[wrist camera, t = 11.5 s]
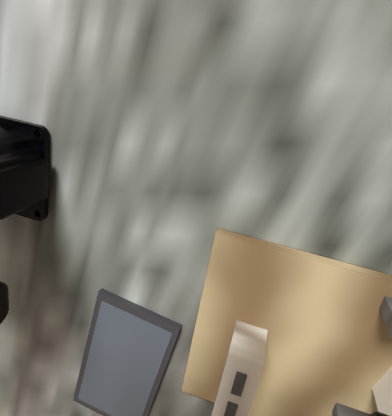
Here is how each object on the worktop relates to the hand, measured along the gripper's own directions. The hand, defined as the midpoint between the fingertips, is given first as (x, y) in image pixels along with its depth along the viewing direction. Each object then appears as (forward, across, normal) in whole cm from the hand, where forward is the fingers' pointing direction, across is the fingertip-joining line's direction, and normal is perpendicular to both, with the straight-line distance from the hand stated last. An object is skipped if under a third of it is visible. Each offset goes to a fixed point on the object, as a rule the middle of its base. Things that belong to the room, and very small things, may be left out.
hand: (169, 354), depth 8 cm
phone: (+14, +6, +16) cm, 22 cm away
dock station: (+13, -8, +9) cm, 18 cm away
